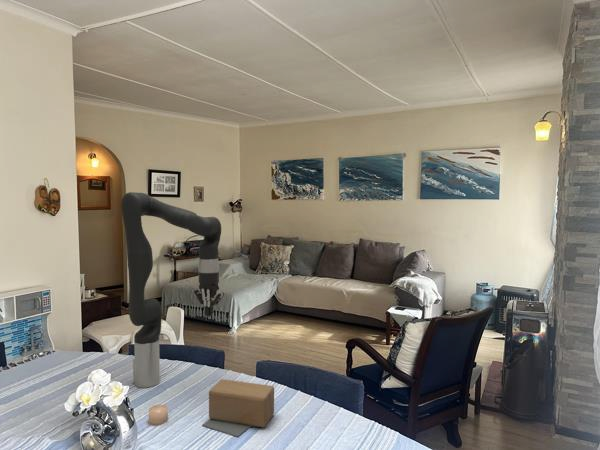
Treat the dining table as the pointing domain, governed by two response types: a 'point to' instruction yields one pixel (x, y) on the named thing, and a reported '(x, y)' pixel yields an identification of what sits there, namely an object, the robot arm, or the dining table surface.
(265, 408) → the block
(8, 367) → the dining table surface
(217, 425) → the mat
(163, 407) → the tan rounded lump
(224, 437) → the dining table surface
